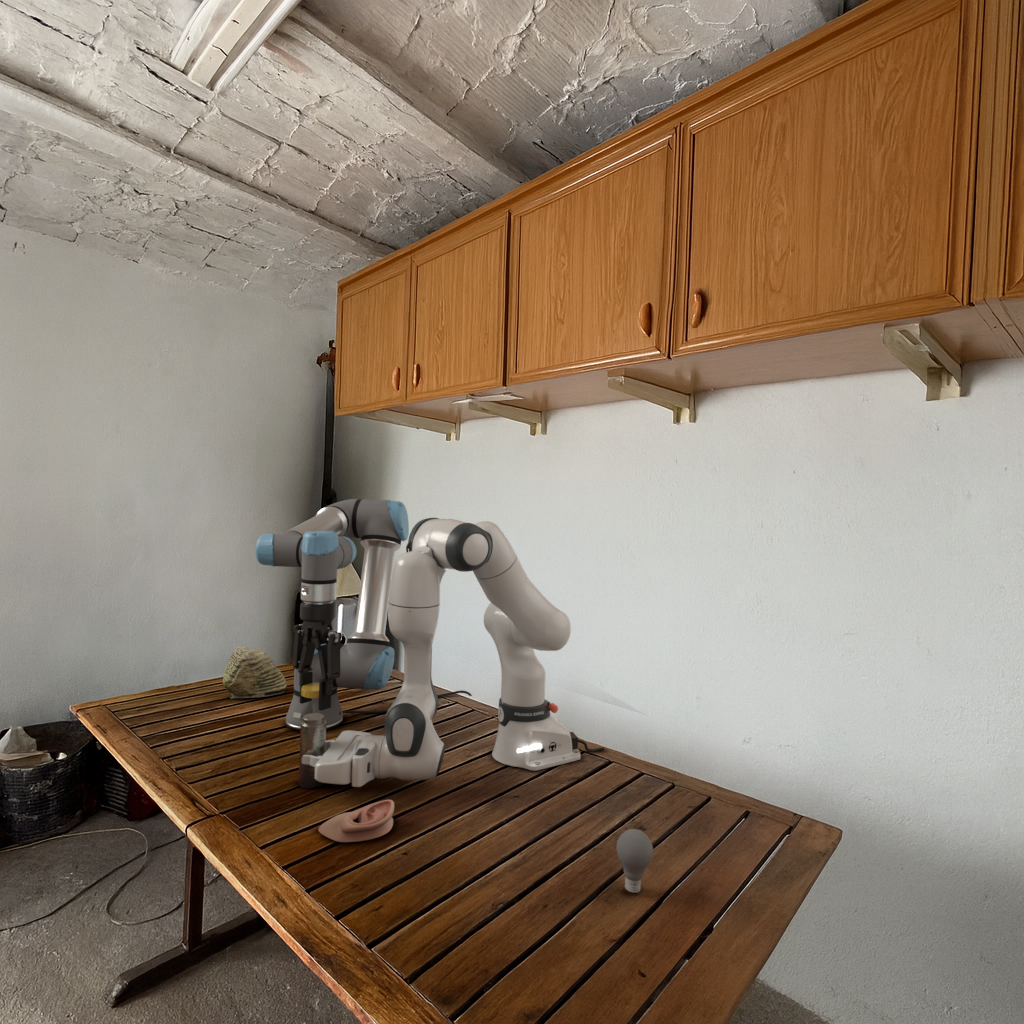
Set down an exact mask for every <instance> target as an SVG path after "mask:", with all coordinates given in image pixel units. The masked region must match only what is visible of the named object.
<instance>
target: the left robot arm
mask: <svg viewBox="0 0 1024 1024" xmlns="http://www.w3.org/2000/svg"><path fill="white" fill-rule="evenodd" d="M409 531H410V525H409V514H408V511H407V507H406V505H405V504H404V503H403V502H401V501H399V500H390V499H364V498H363V499H361V498H350V499H345V500H340V501H337V502H334V503H332V504H329V505H326V506H324V507H323V508H320V510H318V511H317V512H316V514H315V516H313V517H311V518H309V519H307V520H305V521H304V522H303V521H302V522H301V523H300V524H298V525H296V526H294V527H291V528H290V529H288V530H286V531H283V532H282V533H273V532H272V533H264V534H262V535H260V536H259V538H258V539H257V541H256V544H255V557H256V560H257V562H258V563H259V564H260V565H261V566H271V567H284V568H285V567H286V568H301V577H300V578H301V579H300V583H301V585H300V600H301V603H300V605H299V606H300V607H299V609H300V610H299V618H300V620H301V621H303V622H302V623H300V624H295V625H294V626H293V632H294V643H293V644H294V645H293V658H292V660H293V661H292V668H293V669H294V670H293V671H294V672H293V695H292V696H293V697H292V699H291V702H290V704H289V708H288V711H287V713H286V715H285V726H286V728H287V729H289V730H291V731H294V732H295V731H296V732H300V730H301V722H302V721H303V717H304V716H305V715H307V714H311V713H320V714H323V715H324V718H325V719H324V720H326V731H329V730H332V729H335V728H337V727H339V726H340V725H342V723H343V722H344V714H382V713H387V712H388V710H389V708H388V709H377V710H343V709H342V706H341V702H340V699H339V695H338V688H340V689H355V690H356V689H357V690H365V691H370V690H382V689H383V688H384V687H385V686H386V685H387V684H388V682H389V680H390V677H391V675H392V672H393V668H394V663H395V649H394V648H393V647H392V646H390V640H389V638H388V637H387V636H386V629H387V628H386V626H387V620H388V600H389V589H390V582H391V576H392V572H393V568H394V563H395V553H396V552H397V551H398V550H399V549H400V548H401V547H402V542H405V541H408V539H409V535H410V532H409ZM351 538H354V539H360V545H361V546H362V547H363V548H364V553H363V560H362V561H363V562H362V569H361V576H360V583H359V584H360V585H359V591H358V598H357V607H356V612H355V621H354V627H353V629H354V630H353V632H352V633H351V634H350V635H349V636H347V639H346V643H345V644H341V642H342V637H343V634H342V632H336V631H334V628H333V621H334V620H335V619H336V616H337V615H336V613H337V603H336V602H335V601H336V600H337V593H338V591H337V590H338V589H337V587H338V586H337V584H338V581H337V580H338V570H340V569H343V568H347V567H348V566H349V565H351V564H352V563H353V562H354V561H355V559H356V557H357V546H356V544H355V542H354V541H353V539H351ZM310 683H319V698H306V697H303V696H302V695H301V689H302V686H304V685H306V684H310ZM457 694H466V695H467V696H469V697H472V696H473V694H472V693H471V692H469V691H467V690H455V691H452V692H446V693H440V694H437V697H438V698H441V697H447V696H453V695H457Z"/></svg>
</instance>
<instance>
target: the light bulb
mask: <svg viewBox="0 0 1024 1024" xmlns="http://www.w3.org/2000/svg"><path fill="white" fill-rule="evenodd" d="M615 849H616V854H617V857H618V859H619V861H620V863H621V865H622V867H623V873H624V874H623V875H624V876H625V878H624V888H625V890H627V891H628V892H630V893H634V894H635V893H639V892H640V891H641V889H642V887H641V886H642V879H643V877H644V875H645V871H646V868H647V867H648V866H649V864H650V863H651V861H652V859H653V855H654V847H653V843H652V841H651V838H649V836H648V835H647V834H646V833H645V832H643V831H642V830H641V829H636V828H629V829H627V830H625V831H623V832H622V833H621V834H620V835H619V837H618V839H617V841H616V847H615Z"/></svg>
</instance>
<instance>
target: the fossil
mask: <svg viewBox="0 0 1024 1024" xmlns="http://www.w3.org/2000/svg"><path fill="white" fill-rule="evenodd" d="M222 676H223V677H222V685H223V687H224V688H225V690H226V691H228V693H229V698H230V699H250V698H264V697H271V696H275V695H281V694H284V693H285V691H286V689H287V687H288V686H287V680H286V678H285V676H284V674H283V673H282V672H281V669H279V668H278V667H277V665H276V663H275V662H274V660H273V659H272V658H271V657H270V656H269V655H268V654H267V653H266V652H265V650H264V649H263V648H260V647H258V648H251V647H247V646H246V647H245V646H238V647H237V648H236V649H235V650H233V651H232V653H231V656H230V657H229V659H228V660H227V663H226V666H225V668H224V671H223V675H222Z"/></svg>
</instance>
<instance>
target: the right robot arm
mask: <svg viewBox="0 0 1024 1024" xmlns="http://www.w3.org/2000/svg"><path fill="white" fill-rule="evenodd" d="M405 551H406V552H403V553H402V554H400V555H399V556H398V557H397V558H396V559H395V560H394V563H393V570H392V576H391V582H390V589H389V600H388V612H387V620H388V627H389V631H390V633H391V635H392V636H393V637H394V638H395V639H396V640H397V641H399V642H401V644H402V647H403V655H404V656H403V682H402V685H401V687H400V689H399V691H398V693H397V694H396V697H395V699H394V700H393V702H392V704H391V705H390V706H389V708H388V709H389V710H388V712H386V714H385V716H384V723H383V724H384V734H385V735H379V734H378V735H377V734H372V733H370V732H365V731H360V730H350V729H348V730H347V729H346V730H343V731H341V732H340V734H339V735H338V736H337V737H336V739H329V740H326V748H325V753H324V754H323V756H318V757H316V756H312V754H305V755H304V756H303V757H302V764H307V765H311V766H313V767H315V779H316V780H317V781H319V782H322V783H323V784H329V785H330V784H332V785H349V784H351V787H353V788H361V787H363V786H364V785H366V784H368V783H369V782H371V781H373V780H375V779H381V780H382V779H383V780H384V779H388V778H394V779H397V780H400V781H428V780H431V779H432V780H433V779H435V778H436V777H437V776H438V775H439V774H440V771H441V768H442V765H443V761H444V757H445V753H446V745H445V743H444V741H442V740H441V738H440V736H439V735H438V733H437V731H436V729H435V726H434V723H433V719H434V718H435V716H436V714H437V713H438V709H439V697H437V695H438V693H437V691H436V689H435V686H434V684H433V680H432V664H433V663H432V660H433V659H432V658H433V656H432V655H433V642H434V639H435V636H436V633H437V627H438V623H439V616H440V607H441V604H440V603H441V582H442V580H443V577H444V575H445V573H446V571H447V570H446V569H448V570H454V571H458V572H460V573H462V572H464V573H467V572H473V574H474V576H475V578H476V580H477V582H478V584H479V585H480V587H481V589H482V591H483V592H484V595H485V597H486V598H487V600H488V601H489V602H490V603H489V604H488V605H487V607H486V608H485V611H484V614H483V626H484V628H485V630H486V631H487V633H488V634H489V635H490V637H491V638H492V641H493V642H494V645H495V648H496V651H497V654H498V659H499V664H500V672H501V673H500V674H501V675H500V677H501V679H500V681H501V682H500V698H499V699H498V707H497V708H498V709H497V710H498V711H497V721H498V727H497V732H496V738H495V742H494V746H493V749H492V752H491V756H492V758H493V759H494V760H495V761H497V762H498V763H500V764H503V765H506V766H510V767H517V768H522V769H526V770H528V771H533V772H536V771H540V770H545V769H549V768H552V767H556V766H557V767H558V766H561V765H564V764H569V763H573V762H576V761H580V760H581V758H582V756H581V751H580V749H579V744H582V745H583V746H584V749H585V751H587V752H588V753H597V752H601V751H605V747H597V748H594V749H590V748H589V747H588V744H587V742H586V741H584V740H582V739H579V737H578V736H577V735H576V733H574V731H570V730H569V729H568V728H567V727H566V726H565V725H564V724H563V723H562V722H560V720H559V719H557V718H556V717H554V716H553V715H552V714H557V713H558V711H559V705H556V703H554V702H550V701H549V700H547V699H546V677H547V676H546V675H547V674H546V669H545V667H544V666H543V664H542V663H541V661H540V660H539V659H538V657H537V655H536V652H535V650H536V651H541V652H558V651H560V650H562V649H563V648H564V647H565V646H566V645H567V644H568V642H569V640H570V638H571V633H572V624H571V621H570V617H569V616H568V615H567V613H565V612H563V611H562V610H560V609H559V608H558V607H556V606H555V605H554V604H553V603H552V602H551V601H549V600H548V599H547V598H546V596H544V594H543V593H542V592H541V591H540V589H538V587H536V586H535V584H534V583H533V582H532V580H531V579H530V578H529V576H528V574H527V572H526V571H525V569H524V566H523V564H522V563H521V561H520V559H519V557H518V555H517V553H516V551H515V548H514V547H513V545H512V543H511V542H510V541H509V539H508V537H507V536H506V535H505V533H504V532H503V531H502V530H501V528H500V527H499V526H498V524H496V523H494V522H492V521H479V522H476V523H472V522H465V521H463V520H459V519H454V518H438V517H428V518H427V517H426V518H423V519H421V520H419V521H418V522H416V523H415V524H414V526H413V527H412V529H411V531H410V532H409V535H408V539H407V543H406V546H405ZM551 713H552V714H551Z"/></svg>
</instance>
